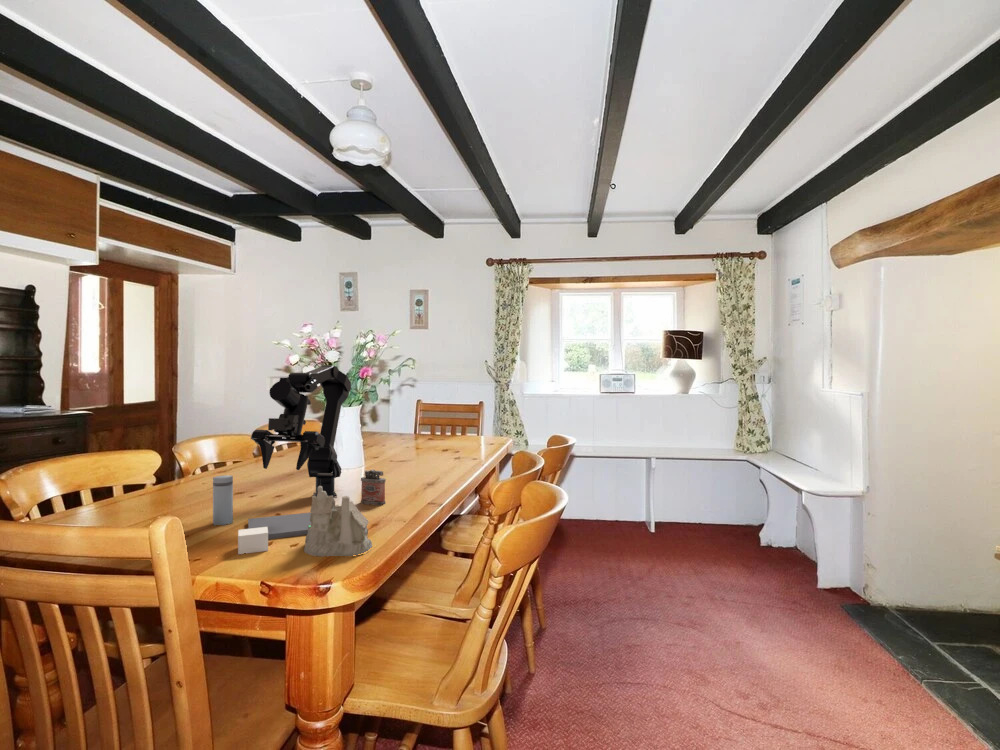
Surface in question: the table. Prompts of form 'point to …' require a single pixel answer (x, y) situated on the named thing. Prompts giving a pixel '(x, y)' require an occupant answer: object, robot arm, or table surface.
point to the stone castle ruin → (336, 528)
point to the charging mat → (271, 531)
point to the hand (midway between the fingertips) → (281, 469)
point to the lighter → (373, 488)
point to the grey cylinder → (222, 500)
